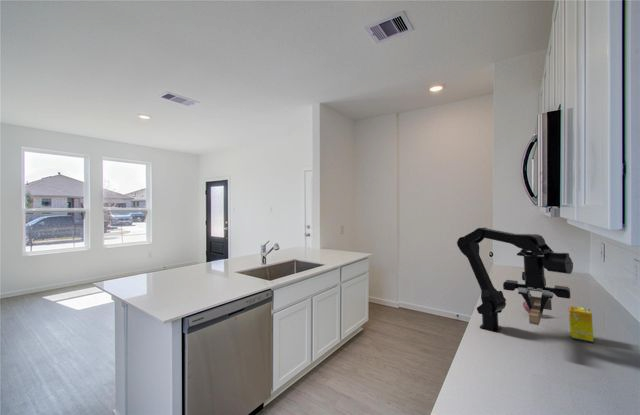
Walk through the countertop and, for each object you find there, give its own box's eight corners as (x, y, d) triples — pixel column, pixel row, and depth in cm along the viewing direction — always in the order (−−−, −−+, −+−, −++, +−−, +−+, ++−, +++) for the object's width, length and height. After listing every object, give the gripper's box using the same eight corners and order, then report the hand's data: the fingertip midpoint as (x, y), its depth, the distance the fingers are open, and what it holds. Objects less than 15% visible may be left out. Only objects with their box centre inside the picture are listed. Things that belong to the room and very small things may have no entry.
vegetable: (536, 312, 126) (535, 291, 127) (542, 317, 121) (541, 295, 121) (520, 311, 128) (519, 290, 129) (526, 316, 122) (525, 294, 123)
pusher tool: (547, 327, 88) (546, 314, 89) (521, 321, 93) (520, 310, 93) (551, 309, 104) (551, 298, 104) (528, 305, 109) (528, 295, 109)
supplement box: (569, 333, 105) (568, 305, 105) (591, 337, 101) (589, 308, 101) (571, 339, 100) (569, 310, 100) (594, 344, 96) (592, 313, 96)
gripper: (569, 268, 97) (572, 311, 97) (507, 263, 110) (509, 301, 110) (568, 273, 89) (571, 321, 89) (501, 267, 102) (504, 309, 102)
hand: (536, 312), depth 97 cm, fingers closed on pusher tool, 2 cm apart
